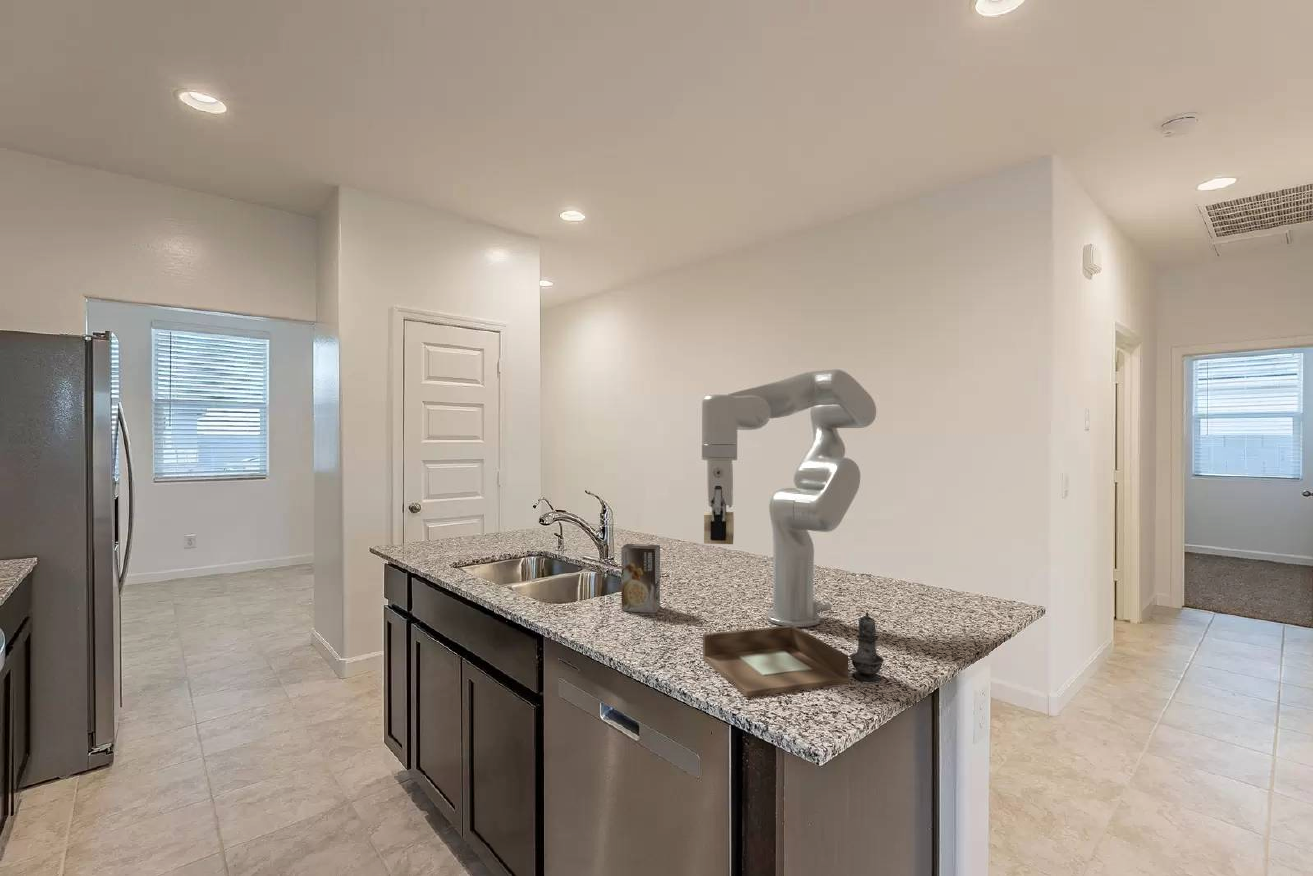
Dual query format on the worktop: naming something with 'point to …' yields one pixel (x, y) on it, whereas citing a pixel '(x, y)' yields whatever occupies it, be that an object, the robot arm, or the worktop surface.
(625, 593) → the coffee box
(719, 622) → the worktop surface
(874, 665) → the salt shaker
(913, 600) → the worktop surface
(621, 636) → the worktop surface
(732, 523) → the maple cube
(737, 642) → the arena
